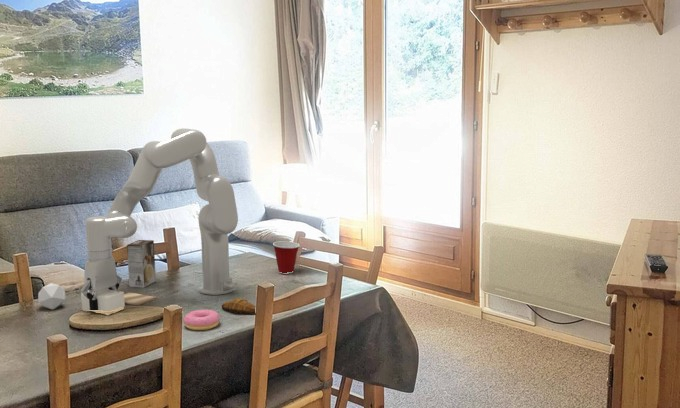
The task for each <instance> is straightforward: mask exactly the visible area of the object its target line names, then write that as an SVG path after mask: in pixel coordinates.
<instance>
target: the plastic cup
mask: <svg viewBox="0 0 680 408" xmlns="http://www.w3.org/2000/svg"><path fill="white" fill-rule="evenodd" d="M272 246H273V249H274V252H275V253H274V254H275V258H276V264H277V271H278V273H279V272H282V273H287V272H292V271H295V265H296V259H297V255H298V251H299V248H300V247H301V245H300V243H298V242H294V241H285V240H284V241H282V240H281V241H280V240H279V241H274V242H273V243H272Z"/></svg>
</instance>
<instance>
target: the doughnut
mask: <svg viewBox="0 0 680 408" xmlns="http://www.w3.org/2000/svg"><path fill="white" fill-rule="evenodd" d="M220 320H221V316H220V314H219V312H217V311H215V310H212V309H196V310H192V311H190V312H188V313H186V314H185V316H184V317H183V323H184V326H185V327H186V328H188V329H189V330H192V331H207V330H210V329H214V328H216V327H217V326H218V325H219V323H220Z"/></svg>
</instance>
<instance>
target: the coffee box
mask: <svg viewBox="0 0 680 408" xmlns="http://www.w3.org/2000/svg"><path fill="white" fill-rule="evenodd" d="M126 250H127V251H126V252H127V253H126V254H127V268H128V283H129V287H130V288H143V289H144V288H147V287H148V286H149V285H152V284H153V283H155V282H157V278H156V260H155V259H156V258H155V240H151V239H144V240H143V239H138V240H136V241H134V242H130V243H129V244H126Z"/></svg>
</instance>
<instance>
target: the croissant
mask: <svg viewBox="0 0 680 408" xmlns="http://www.w3.org/2000/svg"><path fill="white" fill-rule="evenodd" d="M255 307H256V305H254V304H253V303H251V302H249V301H248V300H247V299H244V298H241V297H237V298H234V299H232V300H228V301H225V302H224V303H222V304H221V309H222V310H224V311H226V312H230V313H233V314H241V315H255Z"/></svg>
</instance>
